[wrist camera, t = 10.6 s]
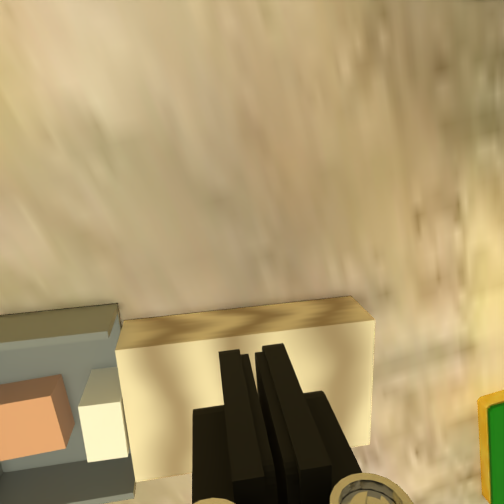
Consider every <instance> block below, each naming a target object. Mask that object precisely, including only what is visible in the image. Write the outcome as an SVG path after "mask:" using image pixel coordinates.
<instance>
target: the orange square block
mask: <svg viewBox="0 0 504 504" xmlns="http://www.w3.org/2000/svg"><path fill="white" fill-rule="evenodd" d="M74 425H75V422H74V418H73V415H72V411H71V407H70V404H69V400H68V396H67V393H66V389H65V386H64V382H63V378H62V375H61V374H59V375H53V376H47V377H42V378H36V379H30V380H24V381H19V382H13V383H7V384H1V385H0V461H4V460H9V459H14V458H19V457H25V456H30V455H35V454H40V453H45V452H50V451H55V450H61V449H66V447H67V444H68V441H69V439H70V436H71V433H72V430H73V428H74Z"/></svg>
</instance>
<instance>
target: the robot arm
mask: <svg viewBox="0 0 504 504" xmlns="http://www.w3.org/2000/svg"><path fill="white" fill-rule="evenodd" d="M218 353H219V362H220V372H221V381H222V391H223V400H224V405H219V406H212V407H205V408H198V409H193V414H192V504H414V503H413V502H412V500H411V499H410V498H409V496H408V495H407V494H406V493H405V492H404V491H403V490H402V489H401V488H400V487H399V486H398V485H397V484H395V483H394V482H392V481H391V480H389V479H387V478H385V477H382V476H379V475H376V474H370V473H362V471H361V469H360V467H359V465H358V463H357V460H356V458H355V456H354V454H353V452H352V450H351V448H350V446H349V443H348V441H347V439H346V437H345V435H344V433H343V431H342V429H341V427H340V424H339V422H338V420H337V418H336V416H335V414H334V412H333V410H332V407H331V405H330V403H329V401H328V399H327V397H326V395H325V393H324V392H323V391H322V390H321V391H314V392H307V393H303V391H302V389H301V386H300V384H299V381H298V379H297V376H296V374H295V371H294V368H293V366H292V363H291V361H290V358H289V356H288V353H287V351H286V348H285V346H284V344H283V343H279V344H272V345H264V346H262V352H255V367H256V380H257V389H256V384H255V380H254V376H253V371H252V367H251V362H250V358H249V354H240V350H239V349H234V350H227V351H219V352H218ZM257 392H258V393H257Z"/></svg>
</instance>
